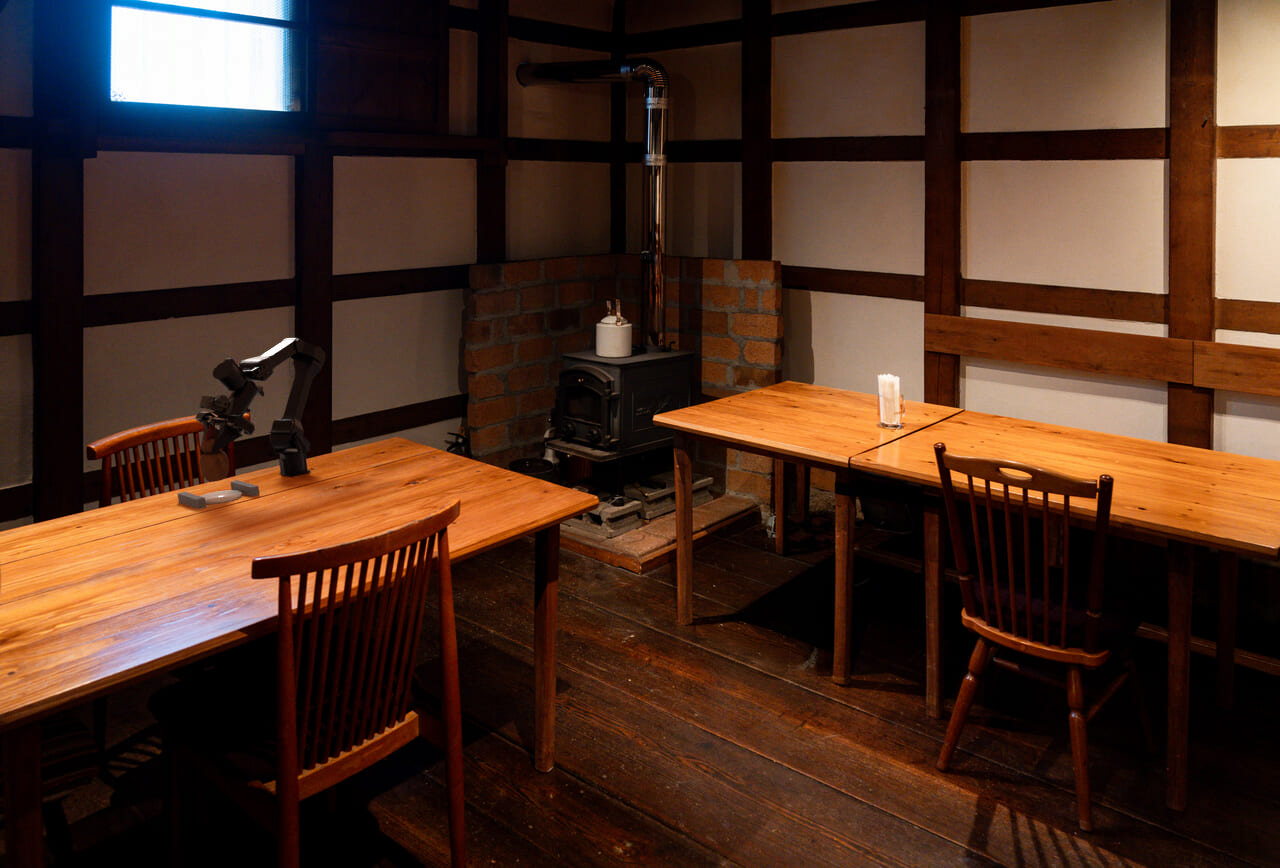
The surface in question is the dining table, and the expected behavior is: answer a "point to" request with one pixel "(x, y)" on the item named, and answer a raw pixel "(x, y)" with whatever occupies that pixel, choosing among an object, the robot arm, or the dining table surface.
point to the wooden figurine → (213, 458)
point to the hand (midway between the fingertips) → (207, 450)
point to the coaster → (221, 496)
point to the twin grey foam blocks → (200, 501)
